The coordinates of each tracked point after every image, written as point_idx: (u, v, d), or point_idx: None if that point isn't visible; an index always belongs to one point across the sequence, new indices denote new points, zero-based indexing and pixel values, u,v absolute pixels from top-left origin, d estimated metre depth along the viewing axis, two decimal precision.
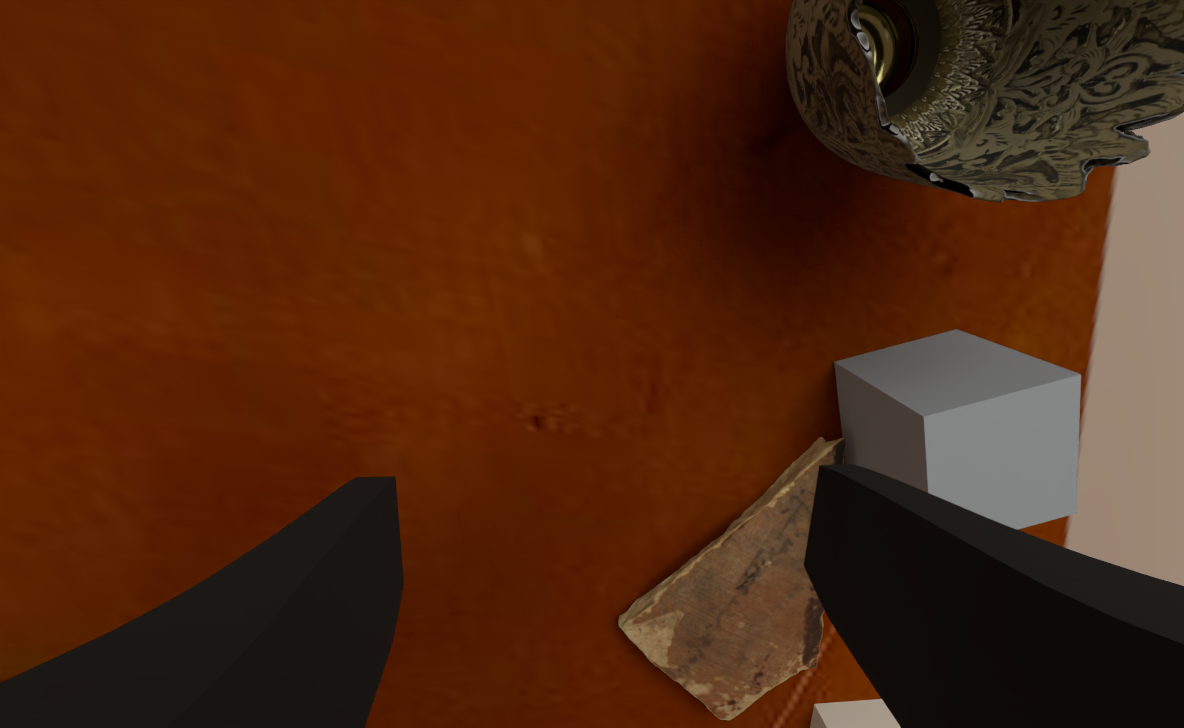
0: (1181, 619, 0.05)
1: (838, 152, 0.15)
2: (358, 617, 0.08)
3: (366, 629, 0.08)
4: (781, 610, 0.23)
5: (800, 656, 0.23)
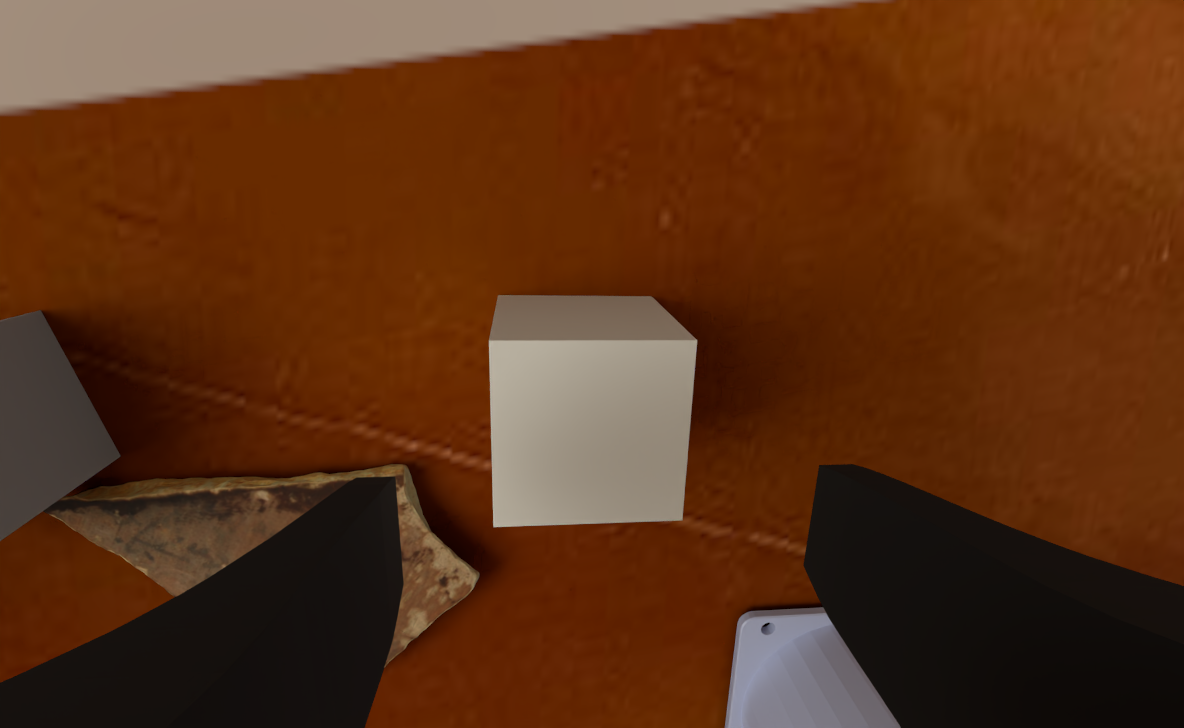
0: (1181, 619, 0.05)
1: None
2: (358, 617, 0.08)
3: (366, 629, 0.08)
4: None
5: None
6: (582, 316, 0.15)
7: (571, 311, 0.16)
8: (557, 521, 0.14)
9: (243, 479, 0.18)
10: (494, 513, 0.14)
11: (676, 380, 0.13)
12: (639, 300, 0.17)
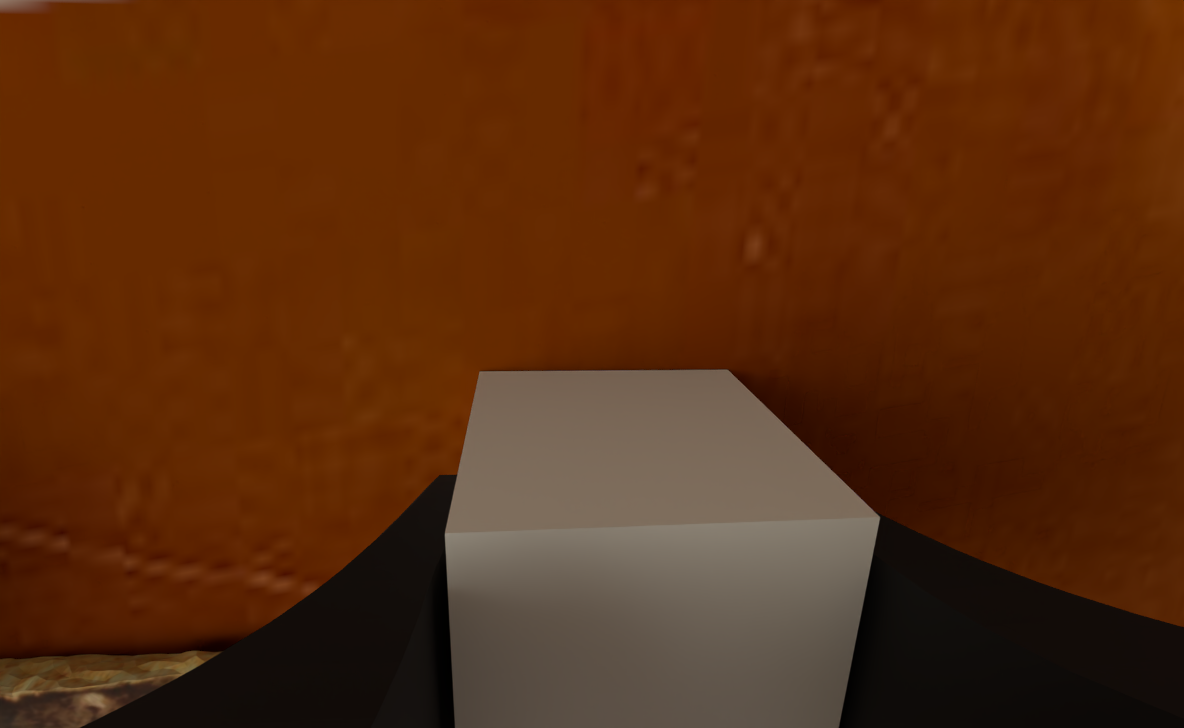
0: (1049, 627, 0.05)
1: None
2: None
3: None
4: None
5: None
6: (628, 432, 0.08)
7: (606, 416, 0.09)
8: None
9: (69, 667, 0.11)
10: None
11: (831, 593, 0.07)
12: (713, 382, 0.10)
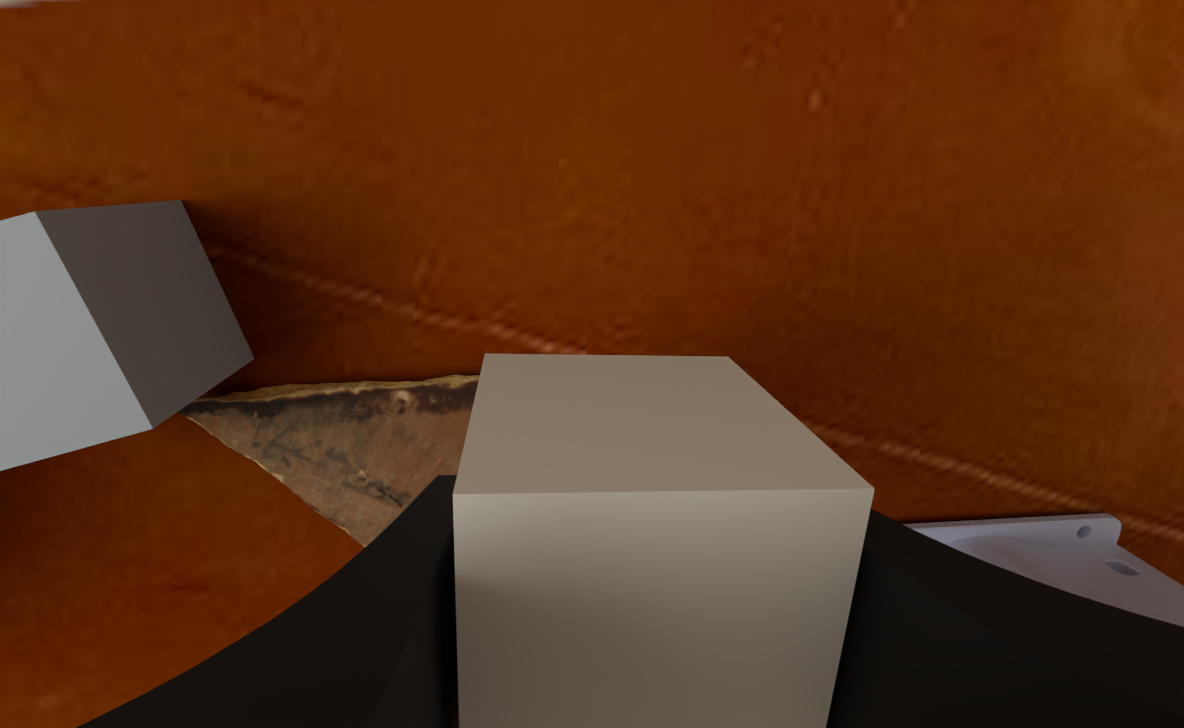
0: (1051, 627, 0.05)
1: None
2: None
3: None
4: (434, 447, 0.17)
5: None
6: (630, 410, 0.08)
7: (609, 396, 0.09)
8: None
9: (379, 381, 0.17)
10: None
11: (826, 562, 0.07)
12: (714, 367, 0.11)
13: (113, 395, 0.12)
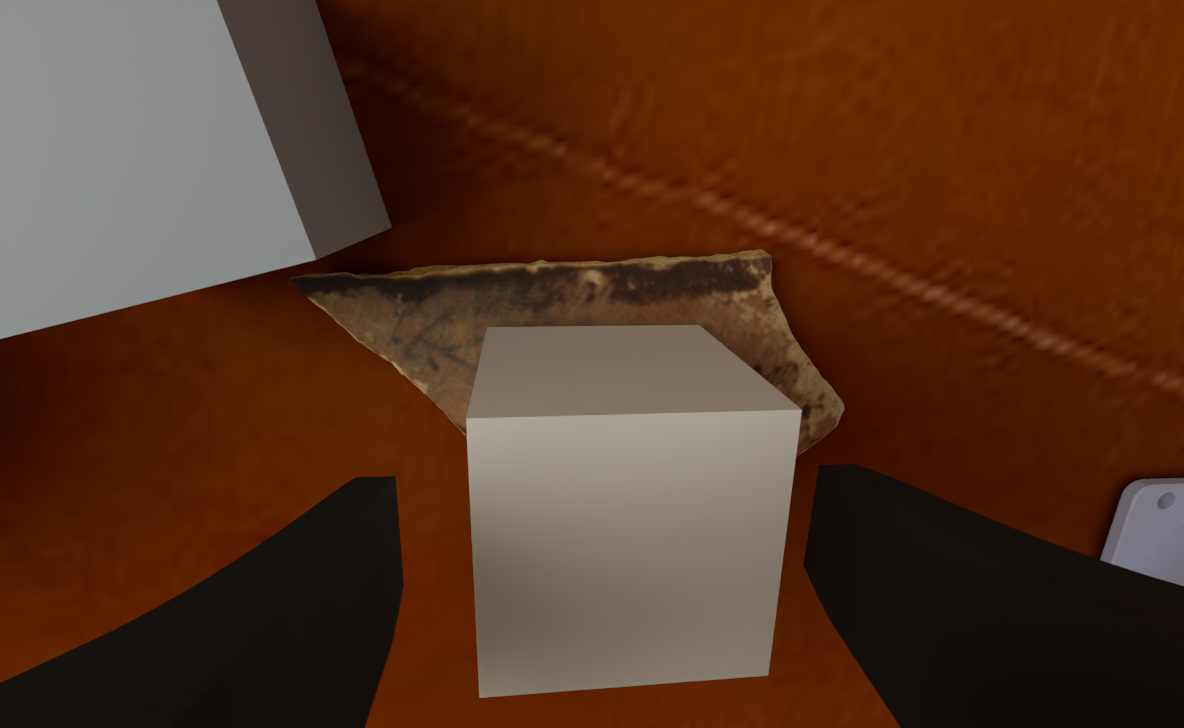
0: (1182, 620, 0.05)
1: None
2: (358, 617, 0.08)
3: (366, 629, 0.08)
4: None
5: (736, 296, 0.13)
6: (610, 363, 0.10)
7: (593, 354, 0.11)
8: (579, 684, 0.09)
9: (557, 262, 0.13)
10: (480, 678, 0.09)
11: (767, 472, 0.08)
12: (685, 333, 0.12)
13: (261, 201, 0.08)
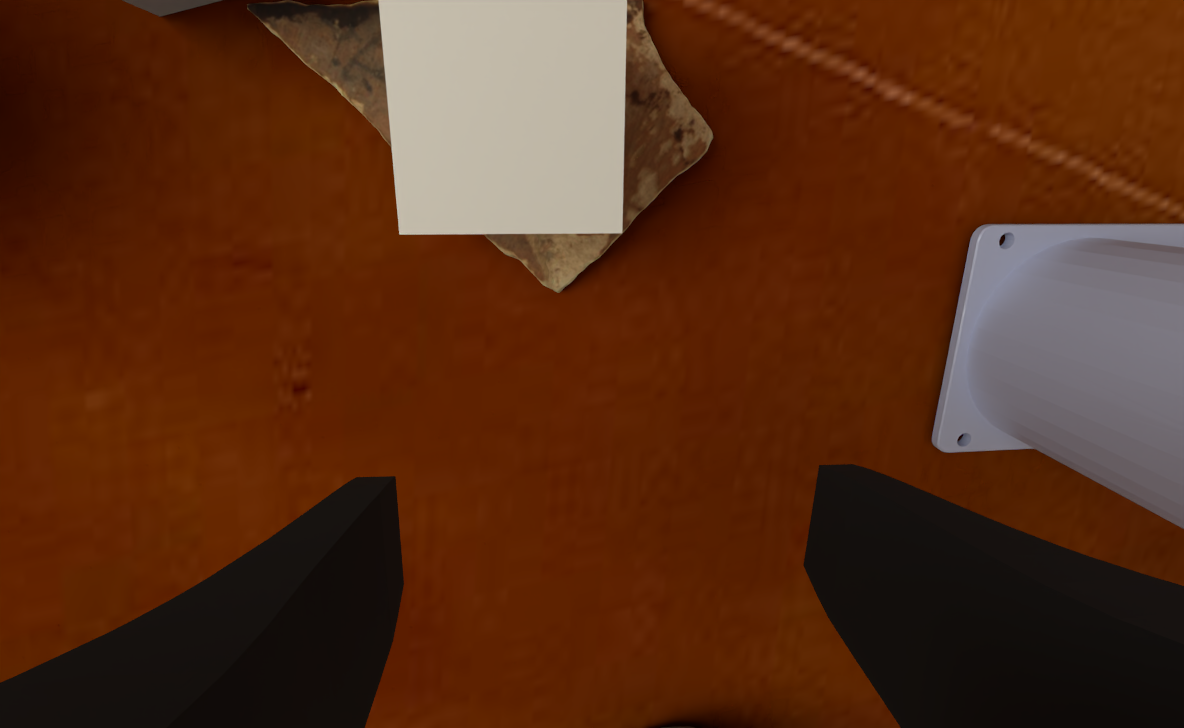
0: (1182, 619, 0.05)
1: None
2: (358, 617, 0.08)
3: (366, 629, 0.08)
4: None
5: None
6: None
7: None
8: (476, 233, 0.12)
9: None
10: (399, 215, 0.12)
11: (605, 40, 0.11)
12: None
13: None
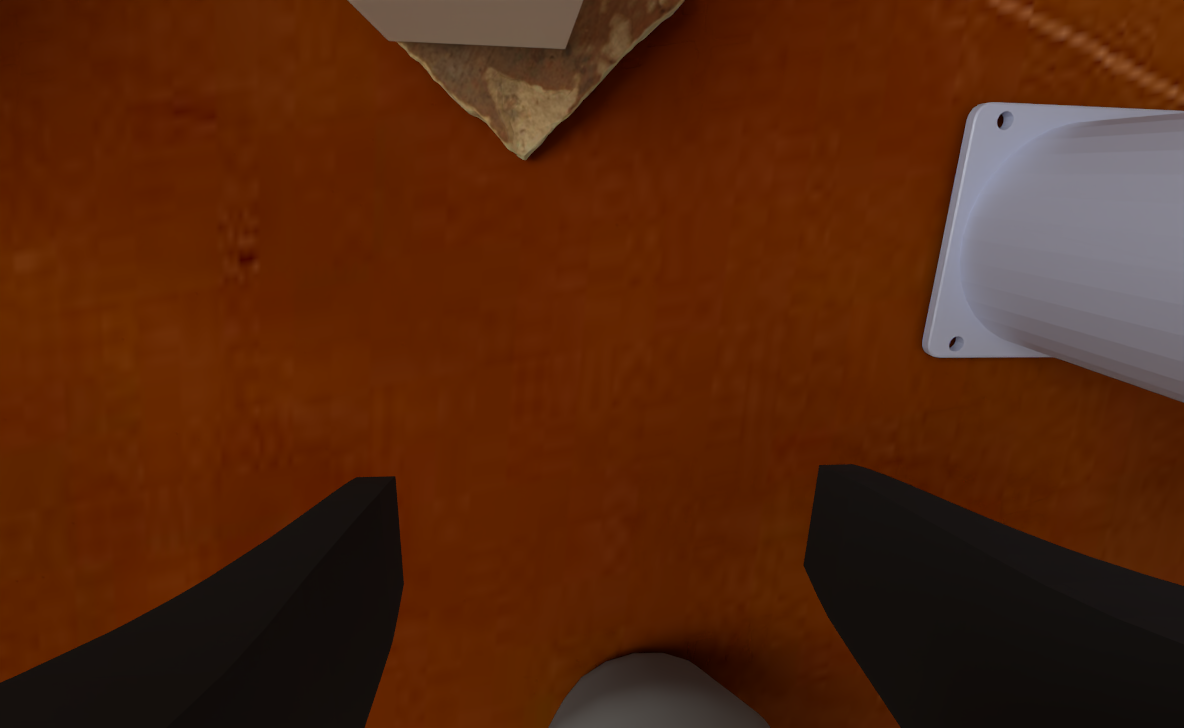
0: (1181, 619, 0.05)
1: None
2: (358, 617, 0.08)
3: (366, 629, 0.08)
4: None
5: None
6: None
7: None
8: None
9: None
10: None
11: None
12: None
13: None
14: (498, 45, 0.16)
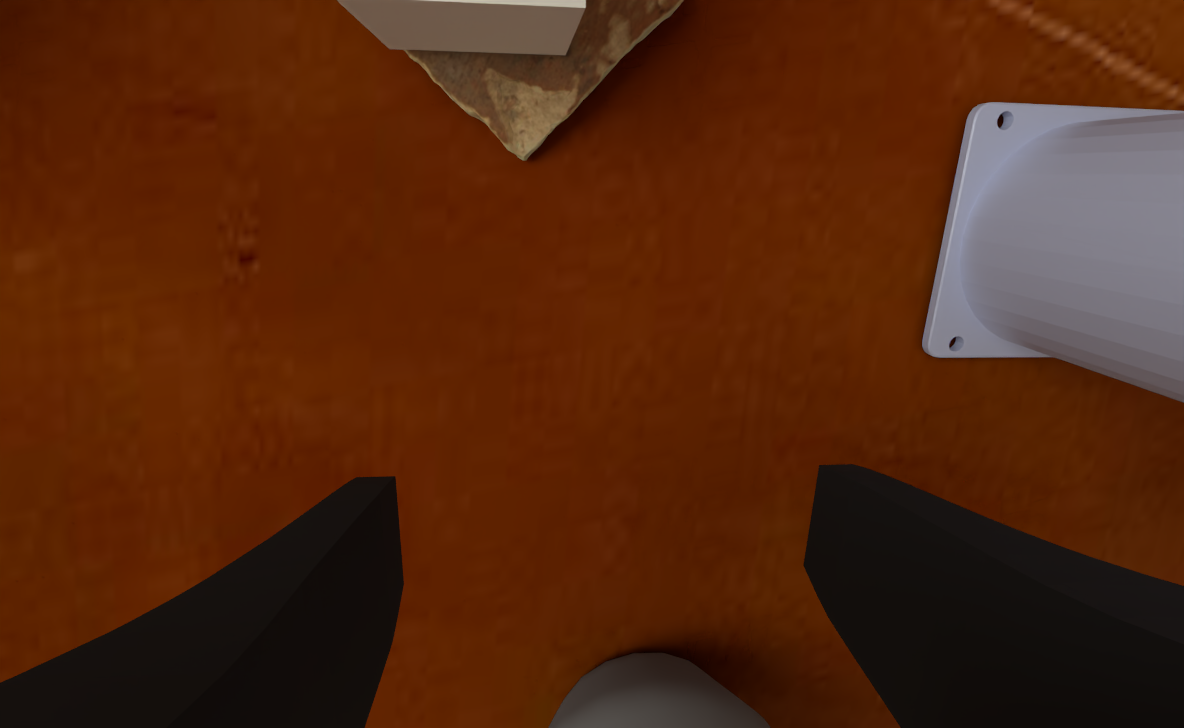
0: (1181, 619, 0.05)
1: None
2: (358, 617, 0.08)
3: (366, 629, 0.08)
4: None
5: None
6: None
7: None
8: (421, 1, 0.11)
9: None
10: None
11: None
12: None
13: None
14: (498, 52, 0.16)
